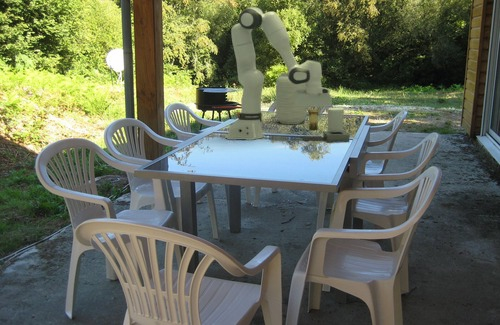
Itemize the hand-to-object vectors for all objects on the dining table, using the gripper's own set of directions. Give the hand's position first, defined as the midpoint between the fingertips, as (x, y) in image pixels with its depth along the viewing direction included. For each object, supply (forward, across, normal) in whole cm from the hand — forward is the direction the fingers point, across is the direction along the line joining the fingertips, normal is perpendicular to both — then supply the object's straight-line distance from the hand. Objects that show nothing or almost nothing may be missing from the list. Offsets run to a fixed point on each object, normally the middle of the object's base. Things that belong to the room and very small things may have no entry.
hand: (313, 115), depth 276 cm
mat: (+13, 0, 0) cm, 13 cm away
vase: (+14, -5, +60) cm, 62 cm away
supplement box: (+14, +16, +15) cm, 26 cm away
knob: (+8, 0, 0) cm, 8 cm away
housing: (+14, +12, -6) cm, 19 cm away
